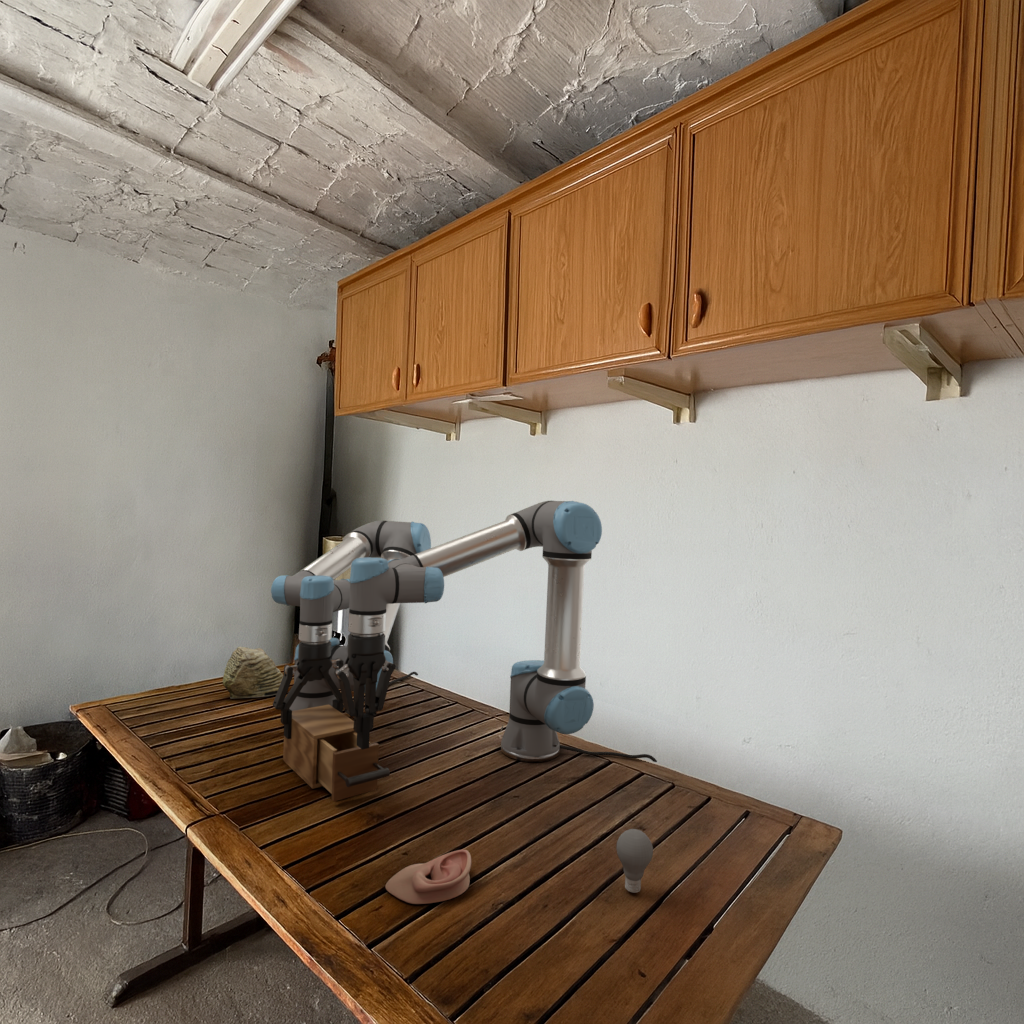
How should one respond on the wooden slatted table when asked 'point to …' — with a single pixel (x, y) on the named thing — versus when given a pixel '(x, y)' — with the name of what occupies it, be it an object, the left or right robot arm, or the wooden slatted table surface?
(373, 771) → the drawer
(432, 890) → the anatomical model
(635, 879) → the light bulb
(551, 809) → the wooden slatted table surface
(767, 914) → the wooden slatted table surface
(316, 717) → the cabinet
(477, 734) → the wooden slatted table surface
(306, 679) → the left robot arm
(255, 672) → the fossil
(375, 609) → the right robot arm
